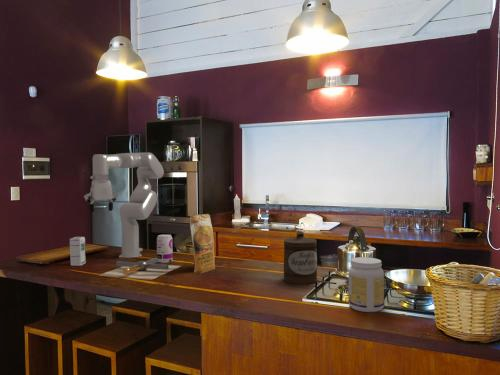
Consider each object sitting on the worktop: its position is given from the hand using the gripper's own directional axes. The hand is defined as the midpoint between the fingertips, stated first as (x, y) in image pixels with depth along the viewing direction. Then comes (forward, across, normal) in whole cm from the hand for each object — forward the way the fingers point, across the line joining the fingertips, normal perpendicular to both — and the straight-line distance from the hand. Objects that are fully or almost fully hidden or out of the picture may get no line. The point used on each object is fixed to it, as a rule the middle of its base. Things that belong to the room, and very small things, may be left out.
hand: (101, 211), depth 205 cm
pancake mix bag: (+29, +32, -44) cm, 62 cm away
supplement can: (+29, +28, -16) cm, 43 cm away
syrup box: (+29, -7, +14) cm, 33 cm away
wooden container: (+29, +53, -88) cm, 107 cm away
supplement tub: (+29, +41, -128) cm, 138 cm away
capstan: (+28, +8, -27) cm, 39 cm away
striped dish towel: (+29, +8, -27) cm, 40 cm away
